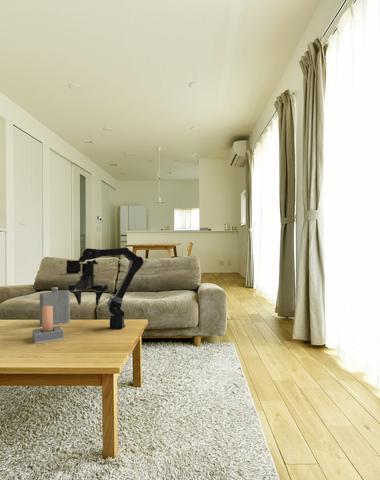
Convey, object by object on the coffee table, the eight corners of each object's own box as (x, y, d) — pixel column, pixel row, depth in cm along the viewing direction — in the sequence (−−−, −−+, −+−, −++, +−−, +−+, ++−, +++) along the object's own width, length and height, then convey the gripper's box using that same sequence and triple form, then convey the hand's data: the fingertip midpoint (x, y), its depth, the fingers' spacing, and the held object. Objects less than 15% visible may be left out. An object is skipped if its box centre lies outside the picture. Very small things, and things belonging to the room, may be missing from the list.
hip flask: (40, 327, 164) (40, 289, 164) (38, 325, 167) (38, 288, 167) (70, 322, 175) (70, 286, 175) (68, 320, 178) (67, 285, 178)
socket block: (59, 333, 151) (59, 326, 151) (63, 339, 142) (63, 331, 142) (32, 337, 145) (32, 329, 145) (34, 343, 136) (34, 335, 136)
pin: (54, 336, 144) (54, 306, 144) (46, 338, 140) (45, 307, 141) (49, 335, 147) (49, 305, 147) (40, 337, 143) (40, 306, 143)
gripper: (61, 274, 149) (61, 307, 148) (98, 274, 146) (98, 308, 145) (74, 272, 160) (74, 303, 159) (108, 273, 157) (108, 304, 156)
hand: (88, 304), depth 155 cm, fingers open, 9 cm apart
